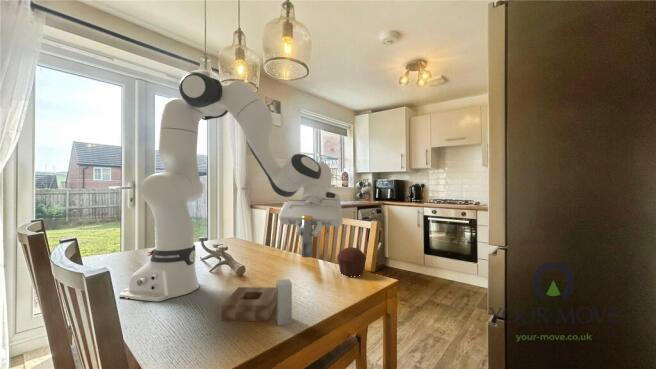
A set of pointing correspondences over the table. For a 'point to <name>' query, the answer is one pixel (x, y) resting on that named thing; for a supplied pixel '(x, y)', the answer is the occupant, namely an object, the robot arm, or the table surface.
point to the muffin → (351, 261)
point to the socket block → (250, 304)
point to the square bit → (283, 302)
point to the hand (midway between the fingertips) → (306, 235)
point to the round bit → (307, 236)
